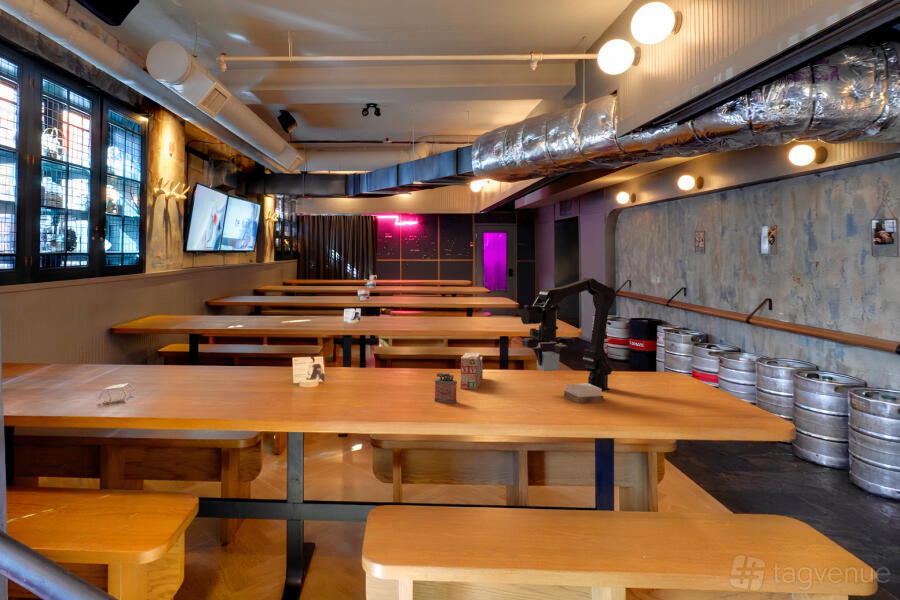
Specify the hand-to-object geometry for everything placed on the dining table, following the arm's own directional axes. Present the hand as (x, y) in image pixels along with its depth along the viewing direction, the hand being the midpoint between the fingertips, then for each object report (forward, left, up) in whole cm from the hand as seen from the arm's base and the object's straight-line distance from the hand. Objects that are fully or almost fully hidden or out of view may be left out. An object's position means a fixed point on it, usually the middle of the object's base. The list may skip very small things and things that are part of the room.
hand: (548, 365), depth 198 cm
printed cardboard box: (+22, -24, -11) cm, 34 cm away
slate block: (0, 0, -2) cm, 2 cm away
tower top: (-9, +10, -9) cm, 16 cm away
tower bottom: (-9, +10, -11) cm, 18 cm away
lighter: (+40, +2, -11) cm, 41 cm away
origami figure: (+148, -27, -11) cm, 151 cm away
